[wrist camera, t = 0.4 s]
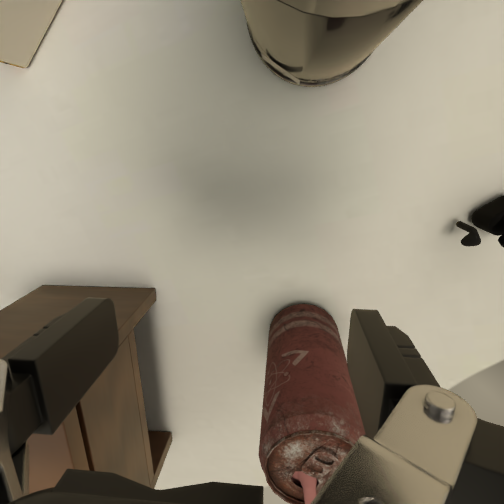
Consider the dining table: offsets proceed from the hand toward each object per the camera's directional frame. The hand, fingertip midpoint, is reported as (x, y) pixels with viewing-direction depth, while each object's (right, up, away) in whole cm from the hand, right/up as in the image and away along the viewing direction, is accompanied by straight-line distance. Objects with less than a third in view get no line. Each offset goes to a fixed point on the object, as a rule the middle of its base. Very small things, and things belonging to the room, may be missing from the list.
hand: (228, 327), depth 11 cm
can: (+6, -5, +20) cm, 21 cm away
